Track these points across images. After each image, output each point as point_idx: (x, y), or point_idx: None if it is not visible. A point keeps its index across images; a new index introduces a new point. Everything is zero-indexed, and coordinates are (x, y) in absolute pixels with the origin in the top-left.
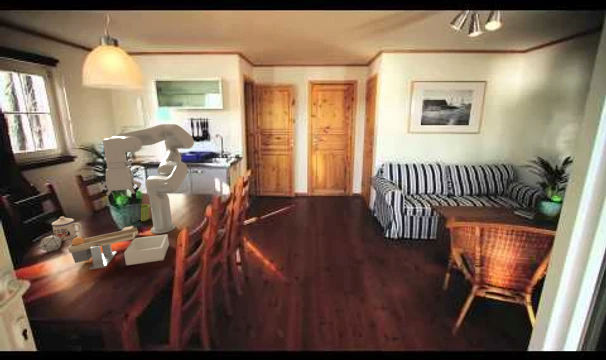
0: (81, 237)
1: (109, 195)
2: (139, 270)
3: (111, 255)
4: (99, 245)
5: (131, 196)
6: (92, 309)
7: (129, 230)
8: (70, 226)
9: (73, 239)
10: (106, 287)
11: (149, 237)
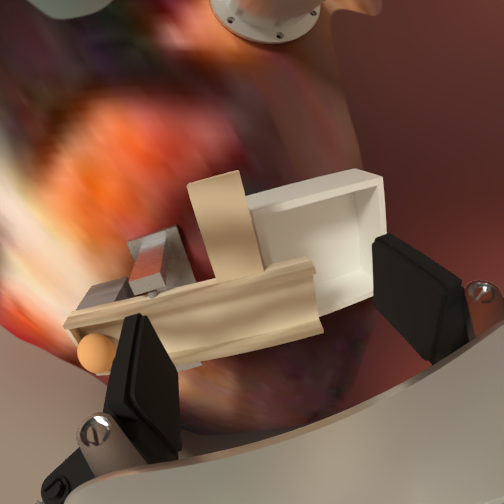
0: (101, 357)
1: (166, 458)
2: None
3: (179, 258)
4: None
5: (409, 343)
6: (285, 417)
7: (279, 280)
8: None
9: (88, 370)
10: (273, 380)
11: (318, 200)
